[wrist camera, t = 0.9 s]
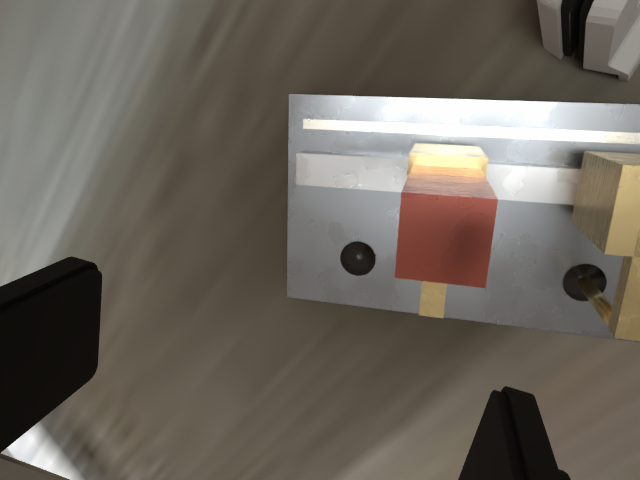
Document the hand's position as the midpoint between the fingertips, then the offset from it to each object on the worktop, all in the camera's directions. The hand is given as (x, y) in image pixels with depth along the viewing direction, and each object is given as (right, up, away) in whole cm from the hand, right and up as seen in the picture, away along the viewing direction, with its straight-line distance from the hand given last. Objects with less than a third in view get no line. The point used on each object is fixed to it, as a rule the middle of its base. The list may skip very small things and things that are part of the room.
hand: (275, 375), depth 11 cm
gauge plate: (+11, +5, +20) cm, 23 cm away
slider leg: (+8, +5, +19) cm, 21 cm away
